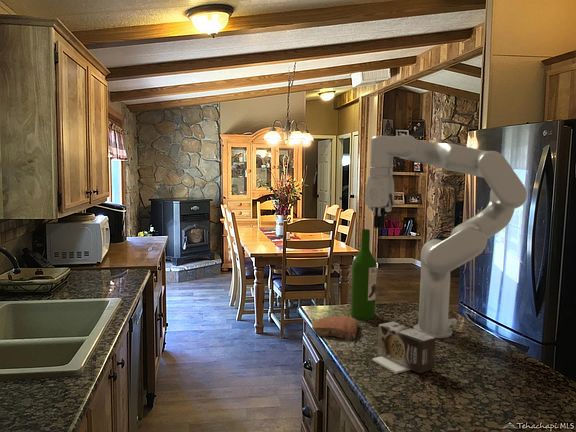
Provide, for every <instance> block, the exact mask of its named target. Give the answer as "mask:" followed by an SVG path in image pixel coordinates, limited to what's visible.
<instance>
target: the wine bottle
mask: <svg viewBox="0 0 576 432" xmlns="http://www.w3.org/2000/svg"><path fill="white" fill-rule="evenodd" d="M370 235H371V230H370V229H369V228H363V229H361V239H360V240H361V241H360V243H361V244H360V250H359V252H358V254H356V257H355V258H354V259H353V261H352V265H351V267H352V268H351V269H352V271H351V294H350V295H351V297H350V317H351V318H354V319H355V320H365V321H366V320H372V319H374V318H375V316H376V296H377V274H378V273H377V272H378V270H377V269H378V268H377V267H378V266H377V265H378V264H377V261H376V259H375V257H374V255H373V254H372V252H371V250H370V245H371V244H370V243H371V242H370V241H371V238H370V237H371V236H370Z"/></svg>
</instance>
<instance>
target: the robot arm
mask: <svg viewBox="0 0 576 432" xmlns="http://www.w3.org/2000/svg"><path fill="white" fill-rule="evenodd" d="M394 157H395V158H399V159H402V160H407V161H411V162H415V163H420V164H424V165H425V164H426V165H430V166H433V167H436V168H439V169H443V170H448V171H452V172H456V173H462V174H466V175H470V176H475V177H477V178H478V177H479V178H484V180H485V182H486V184H487V185H488V187H489V188H490V192H489V201H488V203H487V206H486V207H485V208H484V209H483V210H481V211H480V212H478V213H477V214H476V215H474V216H472V217H470V218H469V219H466V220H465V221H463V222H462V223H459V224H457V226H455V227H453V229H452V230H451V232H450V236H448V237H447V238H445V239H443V240H442V239H434V238H433V239H429V240H428V241H427V242H425V243H424V244H423V246H422V248H421V250H420V251H421V252H420V283H419V284H420V285H419V286H420V287H419V302H418V303H419V305H418V306H419V307H418V323H417V324H415V325H414V326H413V328H412V329H414V330H417V331H419V332H422V333H424V334H427V335H429V336H432V337H435V338H436V339H446V338H449V337H451V336H452V334H453V330H452V329H451V328H450V326H451V325H456V324H457V323H458V320H457V319H456V318H449V308H450V289H451V272H452V271H454V270H455V269H457V268H459V267H460V266H463V265H465V264H466V263H468V262H470V261H471V260H473V259H475V258H476V257H477V256H478V257H479V255H481V254H482V253H483V251H484V250H485V249H486V247H487V244H488V240H489V239H490V238H492V237H493V236H494V235H496V234H498V233H499V232H501V231H502V230H503V229H505V228H506V227H507V226H508V225H509V223H510V222H511V220H512V218H513V216H514V212H515V209H518V208H520V207H521V206H523V205H524V204H525V202H526V201H527V198H528V193H527V189H526V186H525V185H524V184H523V181H522V180H520V177H519V176H518V175H517V173H516V172H515V170H514V169H513V168H512V166H511V164H510V162H508V160H507V159H506V157H505V156H504V155H503V154H501V153H500V152H498V151H496V150H484V149H483V150H482V149H478V148H473V147H468V146H465V145H461V144H460V145H459V144H456V143H452V142H451V143H449V142H432V141H431V142H430V141H426V140H422V139H421V140H420V139H417V138H415V136H412V135H411V134H402V135H393V136H392V135H373V136H372V137H371V138H370V158H369V160H370V161H369V176H368V178H367V181H366V186H365V196H364V197H365V198H364V204H365V205H366V206H367V207H368V210H370V211H372V215H373V228H376V229H384V228H385V220H386V219H385V218H386V216H387V213H390V212H392V210H393V206H394V203H395V183H394V182H395V181H394V177H393V173H394V172H393V171H394Z"/></svg>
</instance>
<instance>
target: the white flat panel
mask: <svg viewBox="0 0 576 432" xmlns="http://www.w3.org/2000/svg"><path fill="white" fill-rule="evenodd" d="M372 362H374V363H375V364H378V365H380V366H382V367H383V368H386V370H389V371H391V372H393V373H395V374H400V373H403V372H407V371H412V370H411V369H409V368H407V367H404V366H402V365H400V364H398V363H396V362H394V361H392V360H390V359H387V358H385V357H383V356H381V355H380V356H377V357H373V358H372Z"/></svg>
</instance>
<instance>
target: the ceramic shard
mask: <svg viewBox="0 0 576 432" xmlns="http://www.w3.org/2000/svg"><path fill="white" fill-rule="evenodd" d="M311 326H312V330H313V331H314V332H315V334H317V335H318V336H319V337H337V338H340V339H346V340H350V341H355V338H356V335H357V331H358V326H359V325H358V321H357V319H356V318H353V317H352V316H349V315H348V316H345V315H336V316H335V315H331V316H325V317H323V318H319V319H316V320H315V321H313V322H312V324H311Z"/></svg>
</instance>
